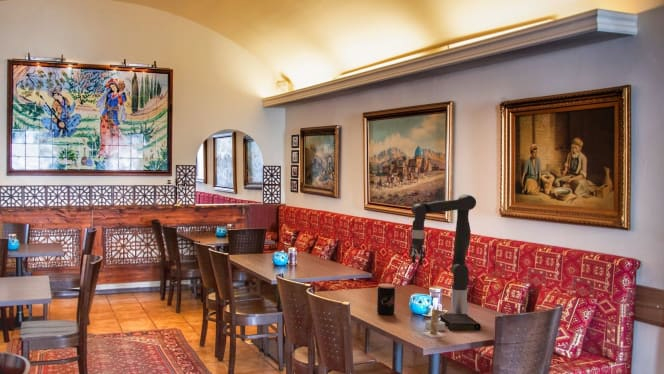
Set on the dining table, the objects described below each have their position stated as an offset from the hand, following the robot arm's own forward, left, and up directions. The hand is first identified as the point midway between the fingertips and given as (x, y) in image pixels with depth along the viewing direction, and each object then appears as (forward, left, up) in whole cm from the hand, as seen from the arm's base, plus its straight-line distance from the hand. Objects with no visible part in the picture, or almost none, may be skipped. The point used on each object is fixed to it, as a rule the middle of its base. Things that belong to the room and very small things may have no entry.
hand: (417, 264), depth 416 cm
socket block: (+2, +26, -33) cm, 42 cm away
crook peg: (+9, +39, -32) cm, 51 cm away
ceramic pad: (+10, +38, -33) cm, 51 cm away
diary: (-16, +23, -34) cm, 44 cm away
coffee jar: (+12, -16, -33) cm, 39 cm away
